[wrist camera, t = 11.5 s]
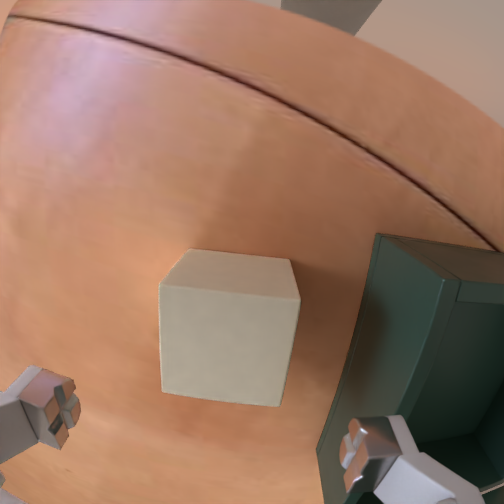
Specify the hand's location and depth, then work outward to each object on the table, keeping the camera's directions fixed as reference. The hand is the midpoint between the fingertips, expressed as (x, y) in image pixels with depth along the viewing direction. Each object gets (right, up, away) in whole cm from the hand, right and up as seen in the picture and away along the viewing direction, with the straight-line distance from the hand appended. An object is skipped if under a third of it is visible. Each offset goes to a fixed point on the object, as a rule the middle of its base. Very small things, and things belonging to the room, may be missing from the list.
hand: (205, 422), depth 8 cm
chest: (+14, -3, +9) cm, 17 cm away
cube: (0, +2, +8) cm, 9 cm away
